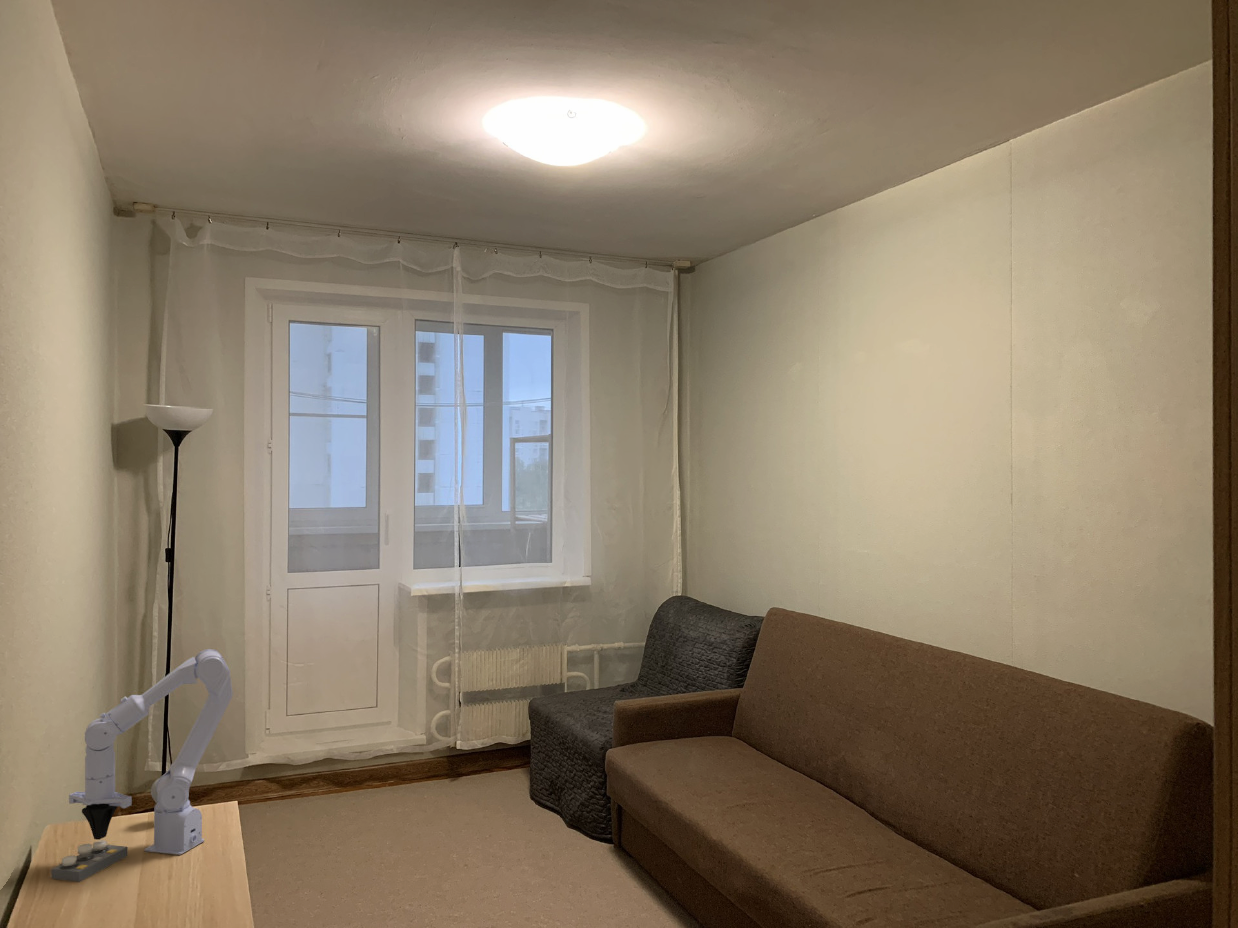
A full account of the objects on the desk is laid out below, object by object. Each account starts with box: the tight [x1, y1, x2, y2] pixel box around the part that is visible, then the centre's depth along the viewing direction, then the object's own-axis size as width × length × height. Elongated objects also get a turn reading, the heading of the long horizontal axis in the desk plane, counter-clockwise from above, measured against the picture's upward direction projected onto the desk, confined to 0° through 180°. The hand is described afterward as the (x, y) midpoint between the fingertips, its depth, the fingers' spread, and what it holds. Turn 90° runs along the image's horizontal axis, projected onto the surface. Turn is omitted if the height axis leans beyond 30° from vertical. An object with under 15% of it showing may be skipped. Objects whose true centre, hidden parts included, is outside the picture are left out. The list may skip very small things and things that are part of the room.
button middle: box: [77, 843, 93, 855], centre depth 189 cm, size 3×3×1 cm
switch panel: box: [50, 844, 129, 883], centre depth 189 cm, size 7×13×2 cm, turn 167°
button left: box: [61, 854, 78, 866], centre depth 185 cm, size 3×3×1 cm
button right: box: [92, 839, 108, 851], centre depth 193 cm, size 3×3×1 cm
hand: (100, 837), depth 193 cm, fingers closed
